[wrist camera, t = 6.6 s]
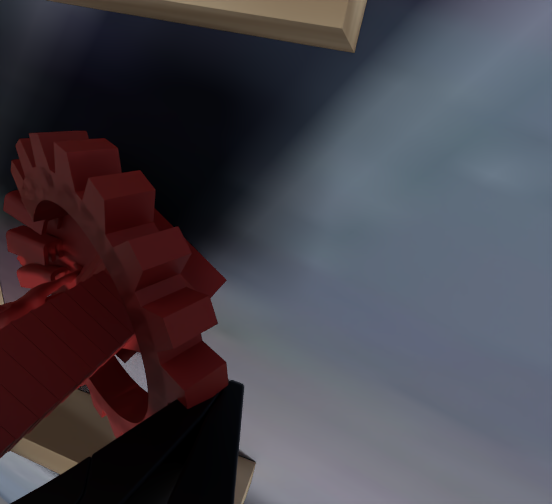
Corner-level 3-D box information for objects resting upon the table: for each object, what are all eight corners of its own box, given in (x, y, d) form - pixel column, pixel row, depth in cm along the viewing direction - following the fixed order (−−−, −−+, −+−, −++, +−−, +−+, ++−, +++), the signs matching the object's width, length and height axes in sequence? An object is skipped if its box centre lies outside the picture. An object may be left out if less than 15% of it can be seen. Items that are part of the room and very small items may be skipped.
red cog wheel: (-19, 129, 13) (-516, 153, 6) (276, 124, 10) (-6, 166, 3) (55, 353, 17) (-186, 532, 10) (282, 399, 14) (173, 711, 7)
